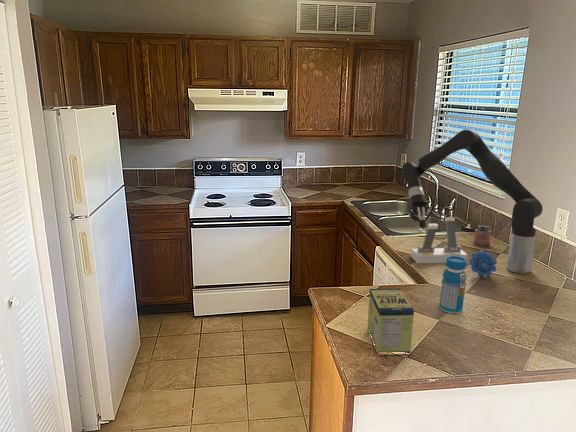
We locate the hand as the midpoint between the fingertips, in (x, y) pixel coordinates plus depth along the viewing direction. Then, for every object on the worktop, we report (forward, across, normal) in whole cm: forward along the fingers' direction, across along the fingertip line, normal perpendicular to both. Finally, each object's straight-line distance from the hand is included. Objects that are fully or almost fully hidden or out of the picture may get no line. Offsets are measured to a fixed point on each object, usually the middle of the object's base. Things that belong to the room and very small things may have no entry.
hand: (423, 228), depth 209 cm
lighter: (0, +39, +21) cm, 44 cm away
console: (+14, +7, +6) cm, 17 cm away
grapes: (+29, +18, -9) cm, 35 cm away
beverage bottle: (+48, -8, -28) cm, 56 cm away
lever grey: (+10, +13, +3) cm, 17 cm away
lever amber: (+10, 0, +3) cm, 11 cm away
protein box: (+63, -38, -43) cm, 85 cm away
